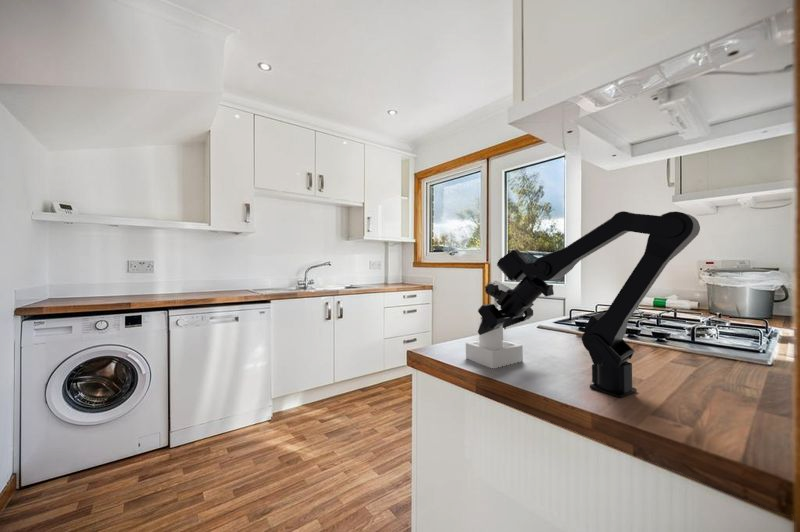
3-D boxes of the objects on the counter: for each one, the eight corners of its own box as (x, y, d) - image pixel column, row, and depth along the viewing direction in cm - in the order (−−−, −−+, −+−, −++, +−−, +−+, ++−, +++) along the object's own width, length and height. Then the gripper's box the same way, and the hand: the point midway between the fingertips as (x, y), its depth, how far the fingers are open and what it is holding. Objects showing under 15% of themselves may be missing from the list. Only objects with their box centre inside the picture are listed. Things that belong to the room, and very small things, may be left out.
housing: (522, 361, 92) (522, 345, 92) (493, 368, 86) (492, 351, 86) (494, 352, 101) (493, 337, 101) (466, 358, 96) (465, 342, 96)
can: (482, 364, 90) (481, 320, 90) (477, 357, 96) (476, 316, 96) (506, 364, 90) (505, 319, 90) (499, 357, 96) (498, 315, 96)
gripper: (522, 270, 96) (490, 305, 105) (483, 274, 84) (451, 312, 93) (549, 299, 90) (513, 334, 99) (512, 308, 78) (474, 346, 87)
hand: (488, 330), depth 95 cm, fingers open, 9 cm apart
